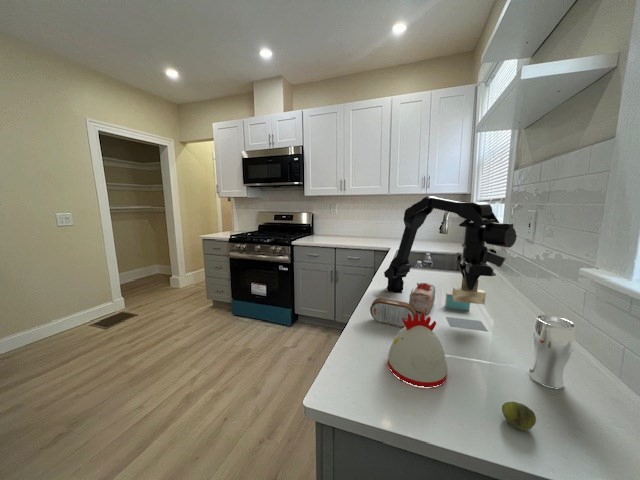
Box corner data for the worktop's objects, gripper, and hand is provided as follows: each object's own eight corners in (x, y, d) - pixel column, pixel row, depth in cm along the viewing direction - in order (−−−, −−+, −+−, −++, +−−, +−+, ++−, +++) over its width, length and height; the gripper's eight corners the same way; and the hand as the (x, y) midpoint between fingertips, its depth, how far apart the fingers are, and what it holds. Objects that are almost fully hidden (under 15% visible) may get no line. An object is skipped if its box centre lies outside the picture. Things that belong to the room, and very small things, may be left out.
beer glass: (557, 395, 54) (569, 332, 51) (520, 375, 60) (529, 317, 58) (571, 384, 57) (583, 324, 55) (534, 366, 63) (543, 311, 61)
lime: (496, 416, 49) (499, 394, 48) (519, 415, 49) (523, 393, 48) (515, 438, 45) (518, 414, 44) (540, 436, 45) (544, 412, 44)
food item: (430, 317, 89) (432, 291, 88) (407, 312, 93) (408, 287, 92) (435, 303, 101) (437, 280, 99) (414, 299, 105) (416, 277, 103)
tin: (415, 326, 83) (417, 303, 81) (415, 331, 80) (416, 307, 78) (371, 317, 89) (371, 295, 87) (368, 321, 86) (369, 298, 85)
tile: (445, 308, 96) (447, 294, 95) (444, 306, 98) (446, 292, 97) (469, 311, 94) (470, 296, 93) (467, 309, 96) (469, 294, 95)
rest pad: (449, 327, 82) (450, 326, 82) (445, 317, 89) (445, 316, 89) (488, 332, 79) (488, 331, 79) (480, 322, 86) (480, 320, 86)
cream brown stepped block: (453, 301, 83) (456, 278, 81) (452, 298, 85) (454, 276, 84) (484, 304, 80) (487, 280, 79) (481, 301, 83) (484, 278, 81)
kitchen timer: (382, 350, 70) (385, 300, 67) (432, 351, 70) (436, 301, 67) (396, 388, 56) (399, 327, 54) (457, 389, 56) (464, 328, 53)
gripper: (517, 249, 68) (510, 302, 71) (492, 238, 86) (487, 281, 89) (472, 247, 71) (466, 298, 74) (456, 236, 89) (452, 278, 92)
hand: (469, 288), depth 82 cm, fingers closed on cream brown stepped block, 2 cm apart
